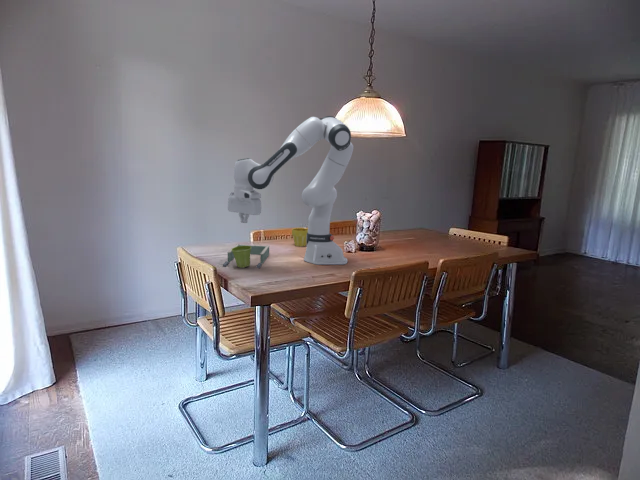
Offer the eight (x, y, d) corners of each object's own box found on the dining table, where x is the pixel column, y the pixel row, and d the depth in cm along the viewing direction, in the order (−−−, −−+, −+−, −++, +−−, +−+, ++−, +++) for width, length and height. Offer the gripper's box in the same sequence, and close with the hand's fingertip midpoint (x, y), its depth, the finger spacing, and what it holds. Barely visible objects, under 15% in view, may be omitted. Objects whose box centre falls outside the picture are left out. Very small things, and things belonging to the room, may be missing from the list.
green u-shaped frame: (269, 254, 234) (269, 245, 233) (262, 263, 214) (263, 253, 213) (236, 253, 234) (236, 244, 233) (227, 261, 214) (227, 252, 213)
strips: (261, 265, 211) (261, 263, 211) (259, 268, 205) (259, 266, 205) (225, 263, 211) (225, 261, 211) (222, 266, 205) (222, 264, 205)
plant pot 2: (288, 246, 257) (289, 229, 255) (295, 243, 267) (295, 227, 265) (305, 247, 254) (306, 231, 252) (311, 244, 264) (311, 228, 262)
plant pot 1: (251, 268, 202) (249, 250, 200) (231, 269, 202) (229, 251, 200) (255, 262, 211) (253, 245, 209) (236, 263, 211) (233, 246, 209)
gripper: (224, 192, 208) (224, 221, 211) (253, 195, 196) (253, 225, 198) (234, 191, 213) (235, 219, 216) (263, 194, 200) (263, 224, 203)
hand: (244, 222), depth 207 cm, fingers closed
